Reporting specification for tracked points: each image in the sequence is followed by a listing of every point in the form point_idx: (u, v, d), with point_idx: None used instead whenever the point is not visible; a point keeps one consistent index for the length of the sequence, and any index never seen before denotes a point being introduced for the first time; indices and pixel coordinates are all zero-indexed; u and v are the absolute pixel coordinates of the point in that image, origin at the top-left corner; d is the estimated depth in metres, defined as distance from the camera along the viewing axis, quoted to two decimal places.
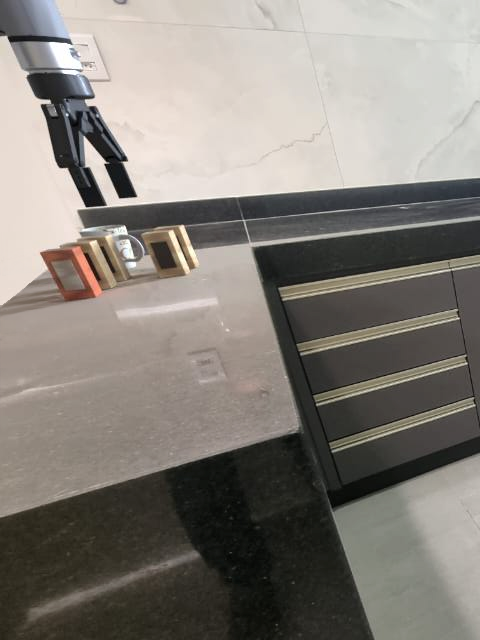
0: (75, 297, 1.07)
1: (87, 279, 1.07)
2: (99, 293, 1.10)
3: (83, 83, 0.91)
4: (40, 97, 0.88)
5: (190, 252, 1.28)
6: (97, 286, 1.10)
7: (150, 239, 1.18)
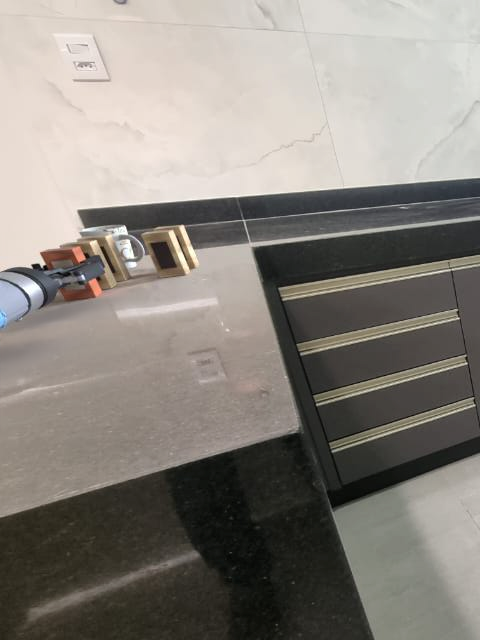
0: (75, 297, 1.07)
1: None
2: (99, 293, 1.10)
3: None
4: None
5: (190, 252, 1.28)
6: (97, 286, 1.10)
7: (150, 239, 1.18)
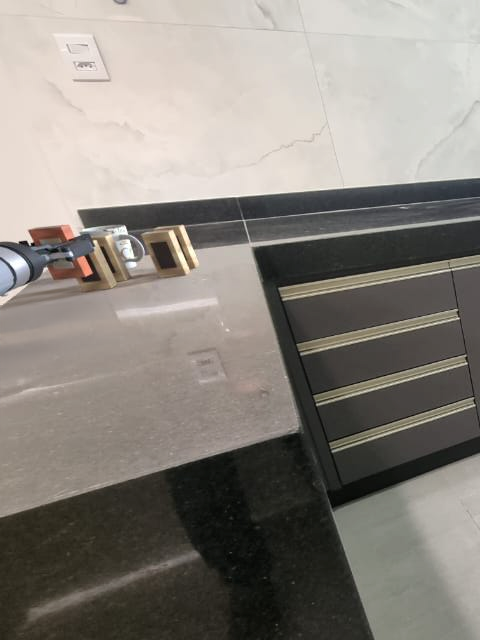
0: (64, 276, 1.06)
1: (77, 258, 1.05)
2: (89, 273, 1.08)
3: None
4: None
5: (190, 252, 1.28)
6: (87, 266, 1.08)
7: (150, 239, 1.18)
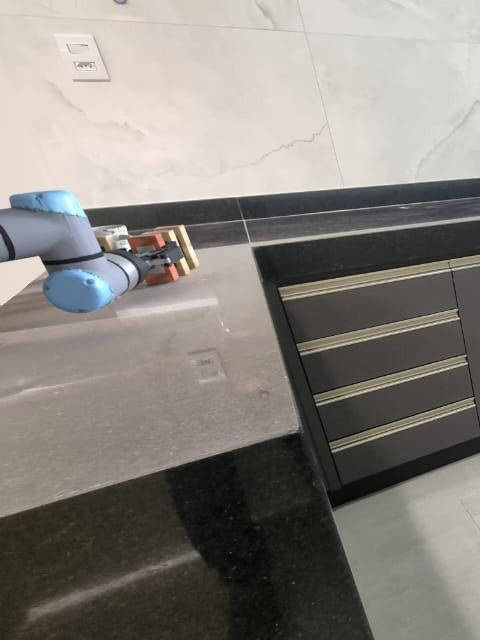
0: (156, 280, 1.15)
1: None
2: (176, 277, 1.18)
3: None
4: None
5: (190, 252, 1.28)
6: (175, 270, 1.18)
7: None
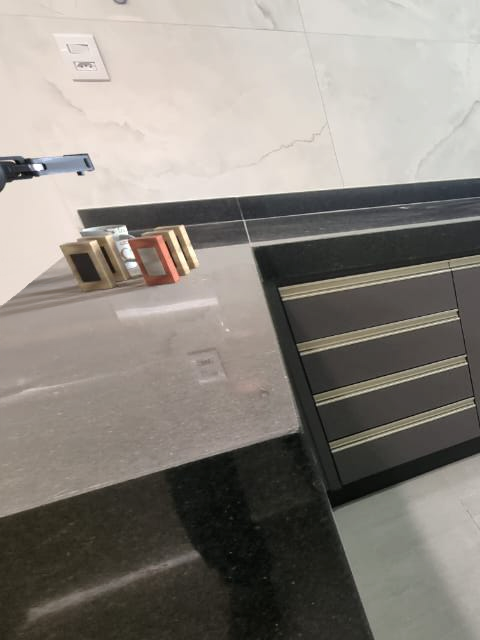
0: (157, 282, 1.16)
1: (168, 265, 1.15)
2: (177, 279, 1.18)
3: None
4: None
5: (190, 252, 1.28)
6: (175, 272, 1.18)
7: None
